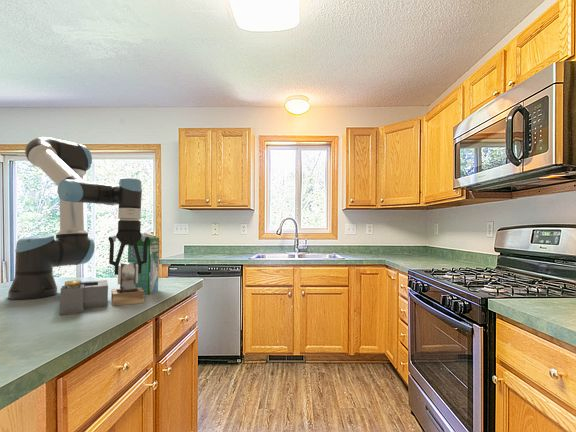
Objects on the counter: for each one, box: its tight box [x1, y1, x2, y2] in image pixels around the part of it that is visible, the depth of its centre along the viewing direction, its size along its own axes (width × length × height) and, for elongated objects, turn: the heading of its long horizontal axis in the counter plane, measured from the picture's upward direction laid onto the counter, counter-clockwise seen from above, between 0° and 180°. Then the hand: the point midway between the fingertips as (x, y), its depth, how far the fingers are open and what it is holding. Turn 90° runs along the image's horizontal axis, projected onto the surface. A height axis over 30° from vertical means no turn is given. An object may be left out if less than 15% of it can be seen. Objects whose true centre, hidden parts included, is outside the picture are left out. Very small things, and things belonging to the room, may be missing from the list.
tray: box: [110, 287, 145, 307], centre depth 118 cm, size 10×10×4 cm
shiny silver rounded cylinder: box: [119, 262, 136, 293], centre depth 118 cm, size 5×5×12 cm
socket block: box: [59, 279, 109, 316], centre depth 111 cm, size 19×13×8 cm
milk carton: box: [127, 232, 160, 296], centre depth 135 cm, size 9×9×25 cm
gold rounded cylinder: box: [64, 280, 82, 288], centre depth 103 cm, size 4×4×7 cm
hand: (127, 283), depth 118 cm, fingers closed on shiny silver rounded cylinder, 5 cm apart
